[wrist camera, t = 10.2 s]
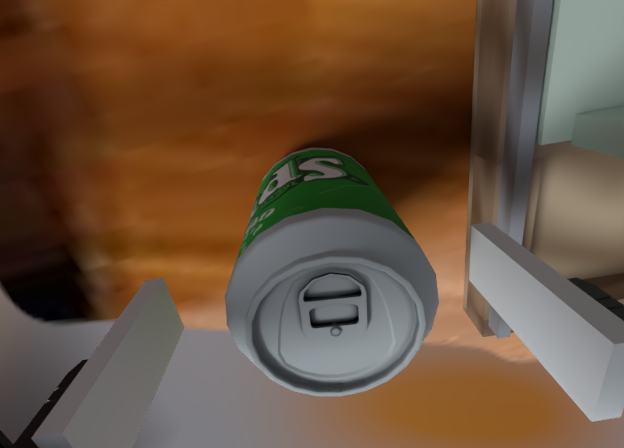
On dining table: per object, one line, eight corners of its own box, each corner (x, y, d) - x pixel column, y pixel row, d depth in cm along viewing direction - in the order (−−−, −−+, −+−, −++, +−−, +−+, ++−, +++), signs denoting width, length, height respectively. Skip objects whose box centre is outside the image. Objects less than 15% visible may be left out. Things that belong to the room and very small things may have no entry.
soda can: (372, 136, 20) (464, 216, 9) (374, 245, 23) (443, 401, 12) (248, 149, 20) (190, 245, 9) (267, 256, 23) (241, 422, 12)
